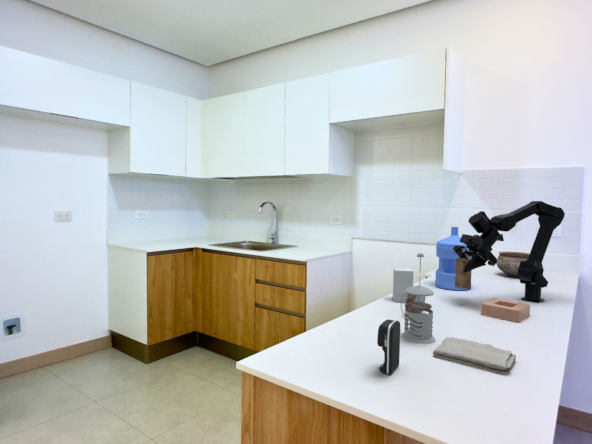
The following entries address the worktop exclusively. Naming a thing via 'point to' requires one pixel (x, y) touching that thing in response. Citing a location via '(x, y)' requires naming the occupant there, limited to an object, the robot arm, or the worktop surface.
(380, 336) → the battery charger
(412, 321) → the french press
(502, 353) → the washcloth
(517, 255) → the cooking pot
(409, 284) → the supplement box
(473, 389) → the worktop surface
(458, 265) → the peg
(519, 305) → the socket
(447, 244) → the water jug
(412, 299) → the tin
